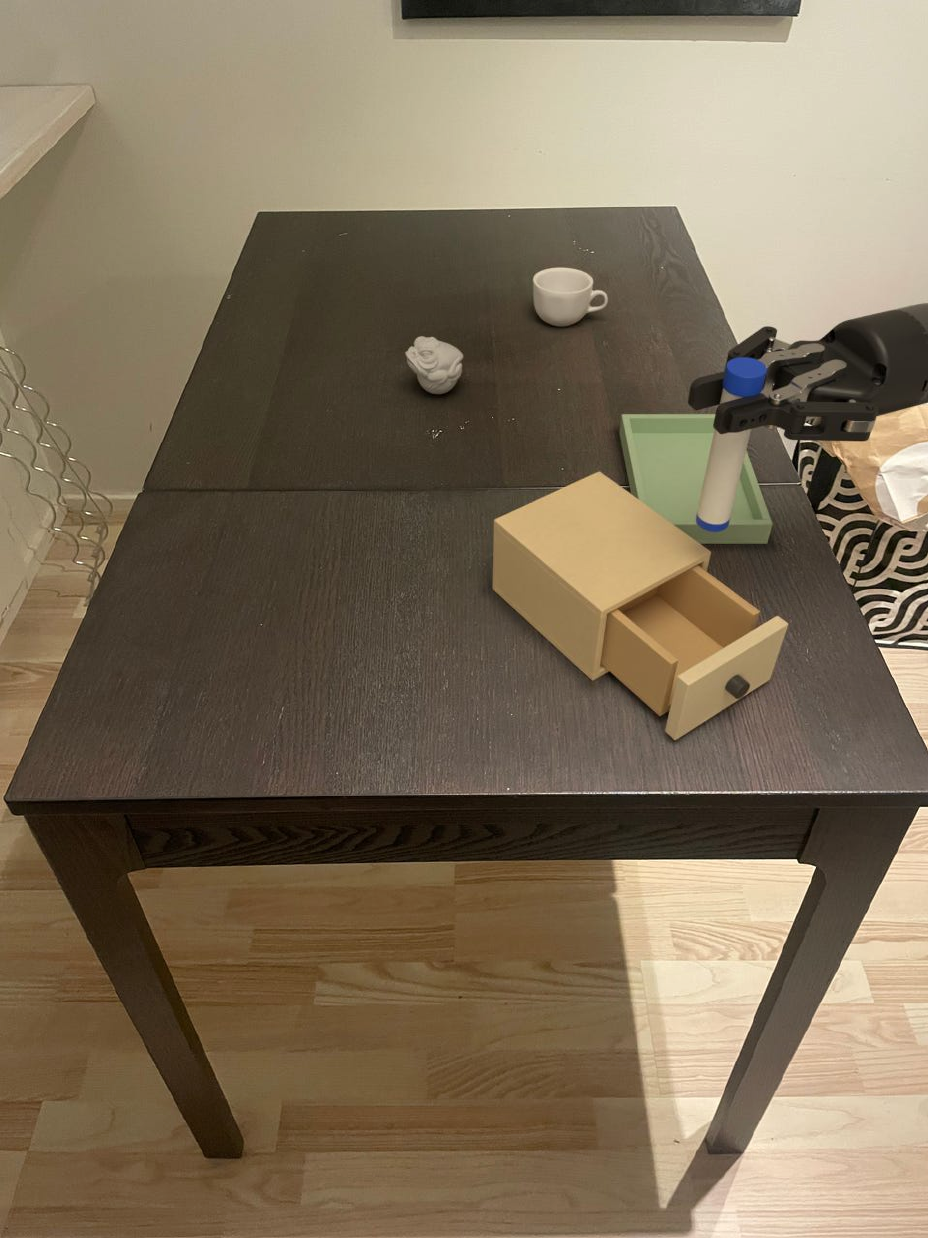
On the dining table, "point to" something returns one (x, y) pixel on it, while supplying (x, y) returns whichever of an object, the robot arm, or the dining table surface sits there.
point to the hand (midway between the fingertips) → (705, 407)
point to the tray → (687, 476)
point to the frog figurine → (435, 364)
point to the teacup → (564, 295)
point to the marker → (728, 448)
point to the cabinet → (585, 562)
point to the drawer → (690, 648)
